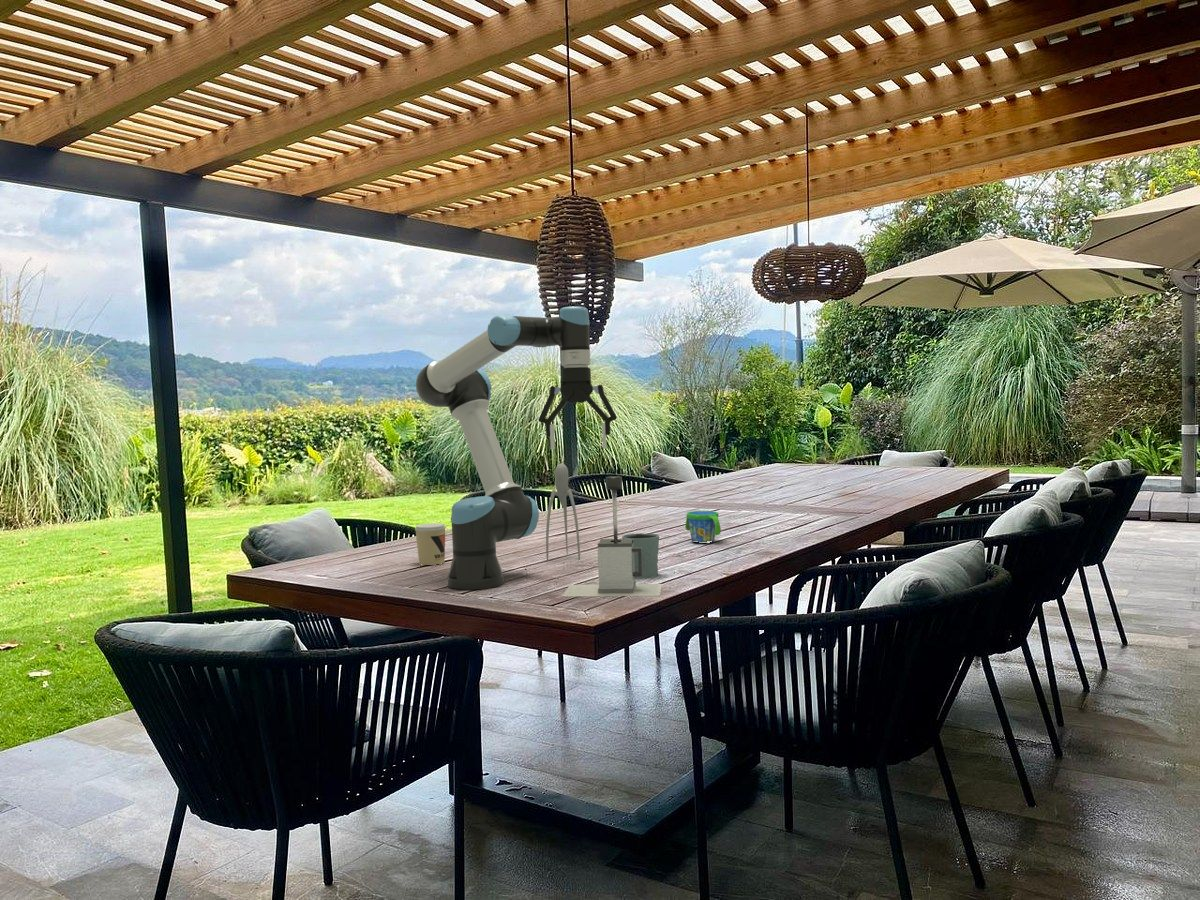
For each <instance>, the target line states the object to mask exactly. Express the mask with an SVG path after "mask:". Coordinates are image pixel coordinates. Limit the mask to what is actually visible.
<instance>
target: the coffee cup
mask: <svg viewBox="0 0 1200 900" xmlns="http://www.w3.org/2000/svg"><path fill="white" fill-rule="evenodd" d="M446 528H447V526H446V524H444V523H439V522H438V523H437V522H436V523H433V522H432V523H431V522H430V523H422V524H418V525H416V526H415V528H414V530H415V538H416V546H417V547H416V548H417V557H418V563H419V565H420V564H422V565H435V564H441V563H444V564H445V559H446ZM422 565H421V566H422ZM441 565H442V564H441ZM435 566H436V565H435Z"/></svg>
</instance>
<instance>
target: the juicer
mask: <svg viewBox="0 0 1200 900" xmlns="http://www.w3.org/2000/svg"><path fill="white" fill-rule="evenodd" d="M568 469H569V468H568V467H567V466H566V464H564V463H563V462H561V463H559V464H558V465H557V466H556V467H555V470H554V479H555V482H554V483H555V487H556V488H555V489H556V490H555V489H552V490H551V494H550V498H549V503H548V508H547V514H546V515H547V517H546V529H545V531H546V533H545V549H546V551H545V552H546V553H545V554H546V556H545V557H546V562H549V533H550V520H551V513H552V506H553V502H554V499H555V496H557V497H558V500H559V503H560V505H561V507H562V509H563V519H564V520H563V521H564V533H565V534H564V535H565V549H566V551H565V552H566V556H567V555H568V553H569V552H568V548H569V547H568V509H567V508H568V506H567V496H568V497H569V500H570V504H571V507H572V513H573V516H574V517H573V518H574V525H575V533H576V542H577V554H578V556H577V557H578V559H577V560H578V561H579V560H580V561H581V551H580V550H581V549H580V547H581V546H580V531H579V522H578V515H577V508H576V504H575V499H574V496H573V492H572V489H571V488H569V470H568ZM568 556H569V555H568Z"/></svg>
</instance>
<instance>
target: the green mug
mask: <svg viewBox="0 0 1200 900" xmlns="http://www.w3.org/2000/svg"><path fill="white" fill-rule="evenodd" d="M621 539H634V547H642V576H635V579H650V578H654V577H657V576H658V574H659V568H658V567H659V566H658V563H659V559H658V558H659V557H658V556H659V555H658V554H659V549H660V548H659V547H660V546H659V543H660V542H659V541H660V535H659V534H657V533H630V534H629V533H628V534H625V535H622V536H621ZM634 567H635V572H639V565H638V552H634Z"/></svg>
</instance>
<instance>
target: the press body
mask: <svg viewBox="0 0 1200 900" xmlns="http://www.w3.org/2000/svg"><path fill="white" fill-rule="evenodd" d="M634 552H638V565H639V572H635V567H634ZM597 566H598V567H597V570H598V573H597V575H598V584H599V589H598V593H634V590H635V587H636V584H637V582H636V578H635V576H642V547H634V539H622V538H618V542H614V538H601V539H599V541H598V543H597Z"/></svg>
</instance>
